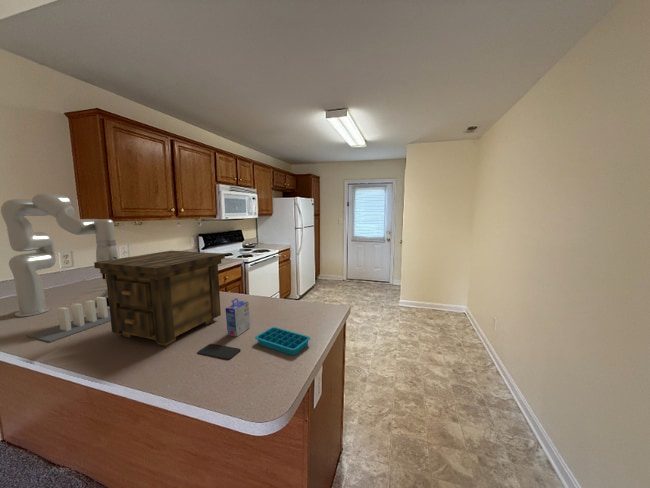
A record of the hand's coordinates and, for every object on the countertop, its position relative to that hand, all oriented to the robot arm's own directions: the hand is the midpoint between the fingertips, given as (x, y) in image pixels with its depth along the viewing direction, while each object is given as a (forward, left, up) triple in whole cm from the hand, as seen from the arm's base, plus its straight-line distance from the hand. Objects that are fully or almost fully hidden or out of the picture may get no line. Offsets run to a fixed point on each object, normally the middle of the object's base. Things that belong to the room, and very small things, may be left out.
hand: (110, 278), depth 134 cm
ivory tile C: (0, -15, -18) cm, 24 cm away
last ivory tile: (0, -20, -18) cm, 27 cm away
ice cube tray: (+99, 0, -20) cm, 101 cm away
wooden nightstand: (+43, -3, -19) cm, 47 cm away
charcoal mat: (-1, -13, -19) cm, 23 cm away
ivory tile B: (0, -10, -18) cm, 21 cm away
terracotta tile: (0, 0, -2) cm, 3 cm away
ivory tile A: (0, -5, -18) cm, 19 cm away
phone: (+79, -13, -20) cm, 82 cm away
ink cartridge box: (+75, +4, -19) cm, 77 cm away
